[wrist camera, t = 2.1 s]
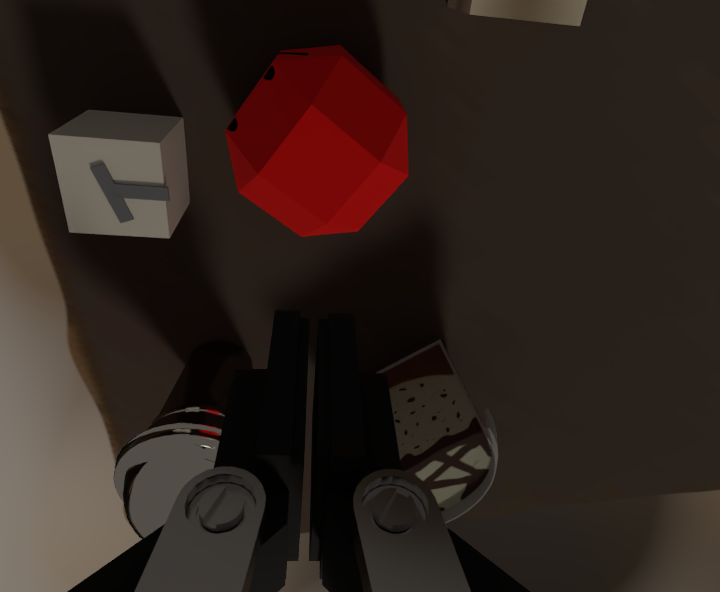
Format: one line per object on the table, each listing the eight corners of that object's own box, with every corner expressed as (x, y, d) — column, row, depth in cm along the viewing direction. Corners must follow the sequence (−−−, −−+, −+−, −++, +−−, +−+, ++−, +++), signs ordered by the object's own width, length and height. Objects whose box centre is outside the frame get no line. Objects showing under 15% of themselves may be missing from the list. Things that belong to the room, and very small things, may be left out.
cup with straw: (297, 341, 38) (275, 649, 21) (254, 424, 42) (207, 737, 25) (179, 301, 35) (45, 611, 18) (146, 393, 39) (12, 716, 22)
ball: (307, 10, 26) (301, 25, 20) (420, 114, 30) (447, 156, 23) (220, 133, 29) (191, 180, 23) (331, 216, 33) (333, 278, 26)
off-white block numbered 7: (187, 117, 29) (162, 144, 25) (193, 202, 32) (172, 239, 27) (88, 109, 28) (46, 135, 24) (103, 196, 31) (68, 233, 27)
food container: (360, 446, 44) (368, 561, 35) (317, 402, 41) (316, 516, 32) (493, 382, 41) (537, 491, 32) (458, 329, 38) (496, 434, 29)
